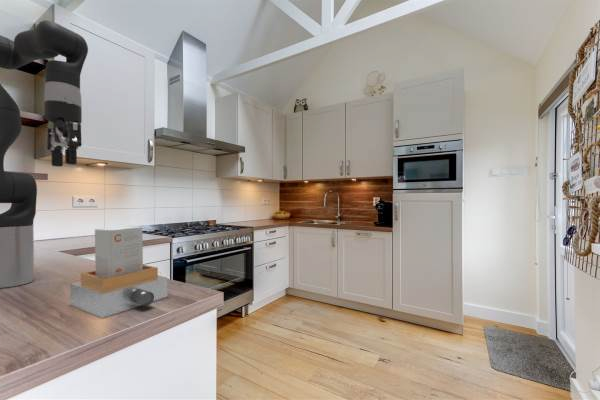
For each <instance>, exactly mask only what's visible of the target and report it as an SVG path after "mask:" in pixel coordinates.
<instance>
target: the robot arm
mask: <svg viewBox="0 0 600 400" xmlns="http://www.w3.org/2000/svg"><path fill="white" fill-rule="evenodd" d="M85 39H86V38H84V37H83V36H82V35H81V34H79V33H77V32H75V31H73V30H70V29H69V28H67V27H65V26H63V25H61V24H59V23H56V22H54V21H50V20H41V21H39V23H38V24H37V25H36V26H35V27H34V28H33V29H29V30H25V31H22V32H19V33H16V35H15V37H14V40H13V39H10V38H8V37H6V36H3V35H1V34H0V68H1V69H5V70H17V69H19V68H21V67H23V66H26V65H28V64H30V63H32V62H34V61H37V60H38V61H39V60H47V59H52V60H49V61H47V62H46V64H45V87H44V94H43V95H44V96H43V97H44V101H43V102H44V103H43V104H44V106H43V107H44V108H43V109H44V115H43V116H44V119H45V120H46V121H47V122H48V121H49V122H51V123H52V124H53V125H52V126H53V127H52V128H50V127H48V128H47V139H46V140H47V143H46V144H47V145H46V146H47V147H46V148H47V151H49V152H50V153H51V166H52V167H63V166H64V165H63V164H64V163H65V164H66V165H77V161H78V160H77V158H78V157H77V155H78V154H77V151H78V150H79V147H80V148H81V147H82V123H83V121H82V120H83V119H82V115H83V114H82V112H83V111H82V94H81V74H82V71H83V66H84V64H85V61H86V59H87V56H88V53H89V52H88V51H89V46H88V44H87V41H86V40H85ZM59 55H60V56H61V57H65V59H66V60H65V61H63V60H57V59H56V60H54V58H56V57H58V56H59ZM21 118H22V117H21V111H20V108H19V105H18V104H17V103H16V101H15V99H14V98H13V97H12V96H11V95H10V93H9V92H8V91H7V90H6V89H5V88H4V86H3V85H2V84H1V83H0V204H11V205H10V207H9V209H7V210H6V211H4V212H2V213H0V289H3V288H12V287H17V286H22V285H26V284H29V283H32V282H34V280H35V277H34V276H35V275H34V268H35V266H34V264H35V263H34V261H35V258H34V251H35V250H34V219H35V217H36V213H37V198H38V197H37V196H38V185H37V181H36V179H35V178H34V176H33V175H32V174H30V173H27V172H25V173H24V172H14V171H13V172H12V171H5V169H4V161H5V156H6V153H7V151H8V150H9V149H10V147H12V145H13V144H14V143H15V141H16V140H17V139H18V138H19V136H20V134H21V133H22V128H23V127H22V119H21ZM63 152H64V153H63ZM63 155H64V156H63ZM63 157H64V158H63ZM63 161H64V163H63Z"/></svg>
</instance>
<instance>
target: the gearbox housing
mask: <svg viewBox="0 0 600 400" xmlns="http://www.w3.org/2000/svg"><path fill="white" fill-rule="evenodd" d="M158 269H159V268H158V266H157V267H156V266H152V265H147V264H143V270H141V271H136V272H132V273H127V274H122V275H118V276H113V277H109V278H102V277H99V276H96V269H95V270H91V271H86V272H81V273H80V281H76V282H73V283H70V305H71V306H73V307H74V308H77V309H80V310H82V311H84V312H87V313H89V314H91V315H93V316H96V317H98V318H101V319H104V318H107V317H111V316H113V315H116V314H120V313H123V312H125V311H128V310H131V309H135V308H137V307H140V306H145V307H146V306H147V307H148V306H149V305H151V304H152V303H154V302H156V301H159V300H162V299H164V298H168V277H167V276H163V275H159V271H158Z"/></svg>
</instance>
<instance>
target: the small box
mask: <svg viewBox="0 0 600 400" xmlns="http://www.w3.org/2000/svg"><path fill="white" fill-rule="evenodd" d="M143 247H144V246H143V226H134V225H133V226H131V225H127V226H125V225H124V226H115V227H107V228H106V227H105V228H104V227H103V228H95V229H94V252H95V253H94V255H95V256H94V258H95V259H94V263H95V265H94V266H95V267H94V268H95V270H96V276H99V277H102V278H109V277H113V276H118V275H122V274H127V273H132V272H136V271H141V270H143V265H144V264H143V263H144V262H143V261H144V258H143V257H144V254H143V251H144V250H143Z"/></svg>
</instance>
